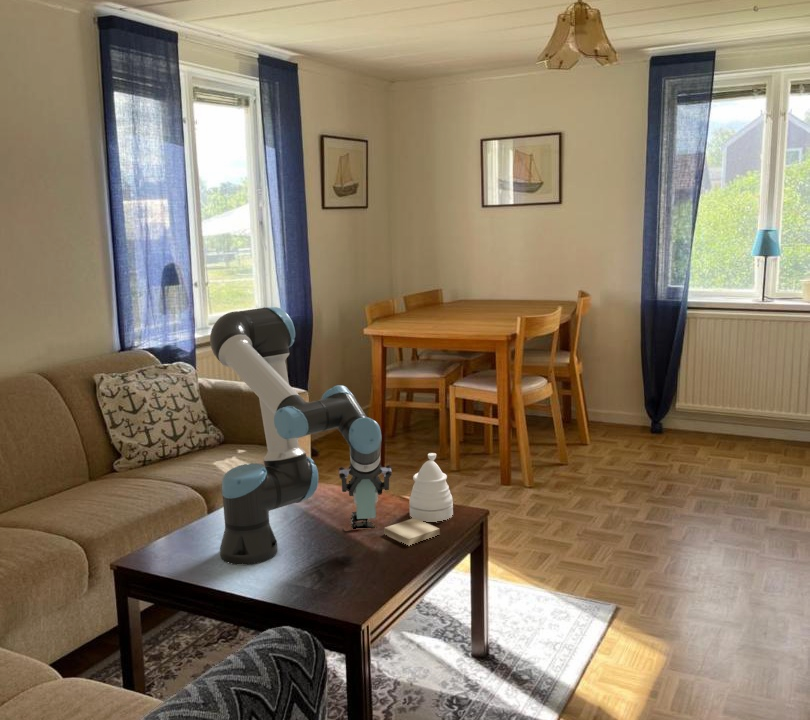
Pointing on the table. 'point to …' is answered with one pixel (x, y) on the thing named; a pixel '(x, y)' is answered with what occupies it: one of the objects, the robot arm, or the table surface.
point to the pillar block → (365, 499)
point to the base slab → (411, 531)
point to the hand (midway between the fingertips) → (365, 498)
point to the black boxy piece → (360, 524)
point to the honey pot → (430, 494)
